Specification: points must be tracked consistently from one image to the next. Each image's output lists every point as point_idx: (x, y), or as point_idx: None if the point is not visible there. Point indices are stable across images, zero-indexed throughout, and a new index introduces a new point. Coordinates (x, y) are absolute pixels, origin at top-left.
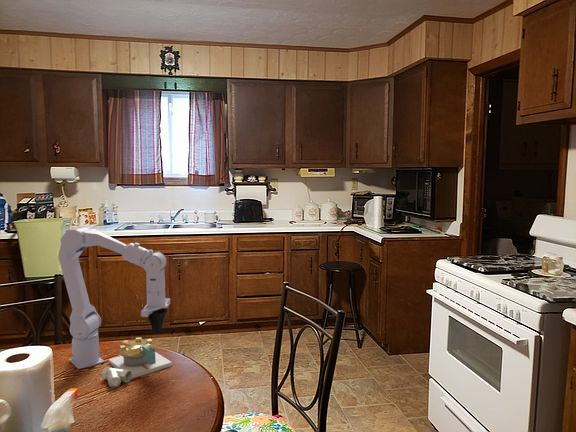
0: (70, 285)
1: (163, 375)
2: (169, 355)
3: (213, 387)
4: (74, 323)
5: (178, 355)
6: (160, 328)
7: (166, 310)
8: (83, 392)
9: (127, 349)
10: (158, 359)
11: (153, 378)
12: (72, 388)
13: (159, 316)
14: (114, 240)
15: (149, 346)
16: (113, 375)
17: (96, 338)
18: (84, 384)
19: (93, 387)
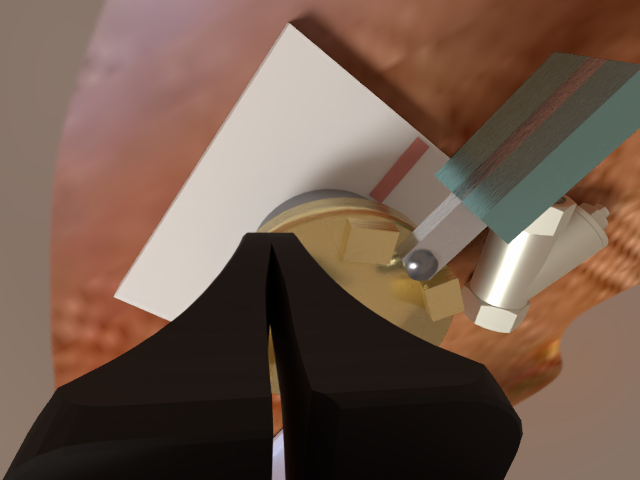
0: None
1: (443, 12)
2: (122, 131)
3: None
4: None
5: (92, 60)
6: (273, 246)
7: (133, 426)
8: (597, 299)
9: (417, 335)
10: (267, 150)
11: (485, 61)
12: (556, 350)
13: (474, 363)
14: None
15: (529, 177)
16: (589, 251)
17: None
18: (527, 334)
19: (559, 291)
